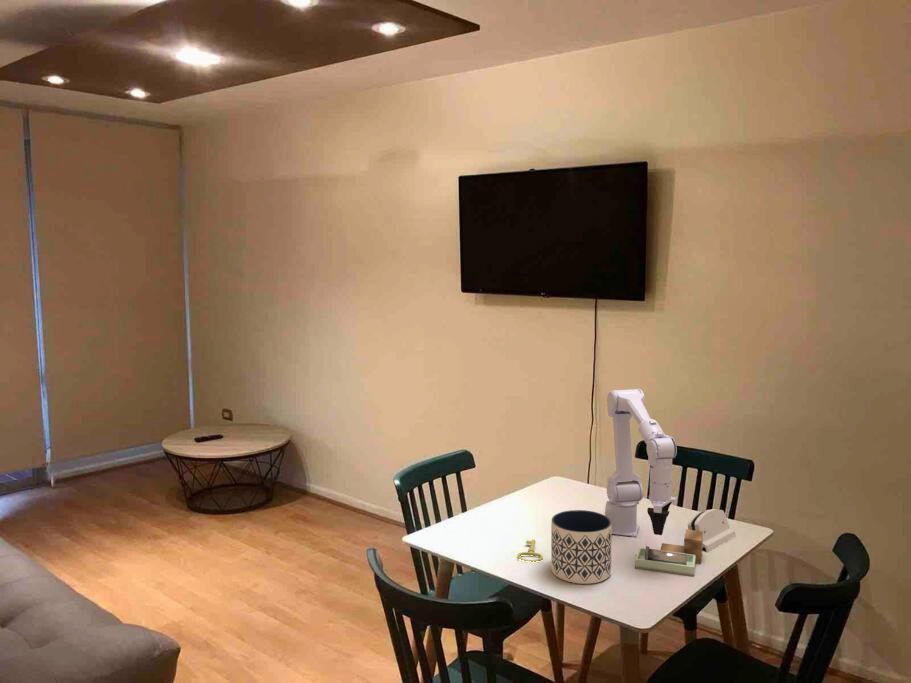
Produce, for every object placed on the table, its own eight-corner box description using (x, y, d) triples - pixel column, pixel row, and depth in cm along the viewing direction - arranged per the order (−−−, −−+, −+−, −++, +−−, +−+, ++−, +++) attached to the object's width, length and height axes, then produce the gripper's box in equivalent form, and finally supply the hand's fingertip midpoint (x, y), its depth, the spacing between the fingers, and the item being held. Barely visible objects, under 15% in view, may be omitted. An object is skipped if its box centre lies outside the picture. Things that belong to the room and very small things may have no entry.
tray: (635, 568, 197) (635, 559, 197) (638, 555, 205) (638, 547, 204) (693, 576, 192) (694, 567, 191) (695, 563, 199) (695, 554, 199)
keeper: (659, 558, 203) (660, 535, 202) (661, 548, 210) (662, 526, 209) (700, 563, 199) (701, 540, 198) (702, 553, 206) (702, 531, 205)
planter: (622, 580, 190) (623, 527, 188) (566, 589, 186) (566, 535, 184) (593, 555, 205) (594, 507, 203) (541, 563, 201) (542, 513, 199)
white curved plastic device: (707, 552, 206) (697, 517, 207) (693, 553, 210) (683, 518, 211) (736, 536, 217) (727, 503, 218) (722, 537, 221) (713, 504, 222)
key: (535, 545, 214) (535, 538, 214) (544, 563, 202) (544, 556, 201) (511, 547, 213) (510, 540, 213) (519, 565, 201) (519, 558, 201)
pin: (644, 566, 198) (644, 556, 196) (646, 553, 202) (646, 542, 199) (685, 574, 195) (686, 563, 192) (686, 560, 198) (687, 549, 195)
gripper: (673, 491, 189) (672, 541, 190) (678, 474, 202) (676, 521, 204) (645, 488, 191) (644, 537, 193) (652, 472, 205) (651, 518, 206)
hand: (659, 529), depth 199 cm, fingers open, 7 cm apart
